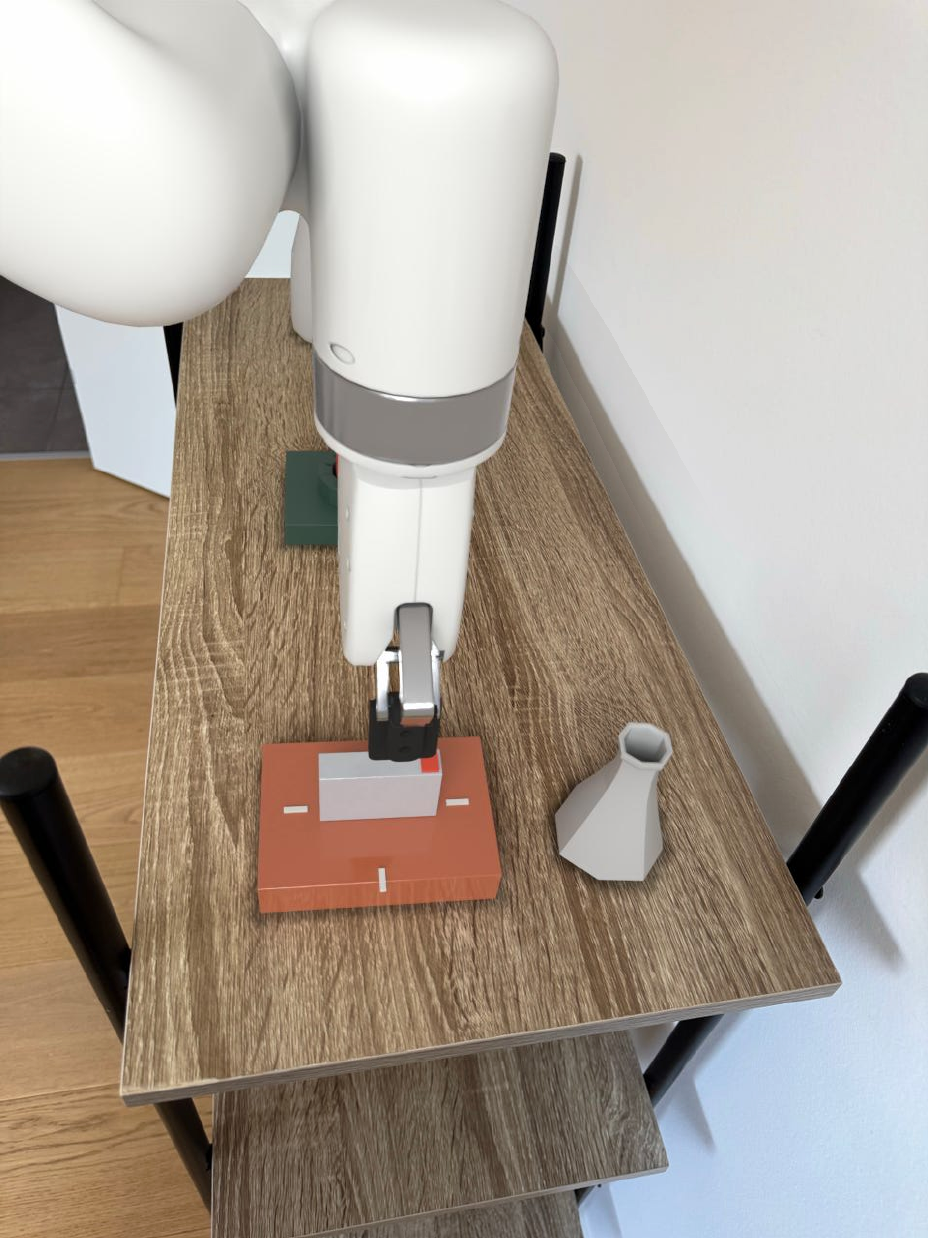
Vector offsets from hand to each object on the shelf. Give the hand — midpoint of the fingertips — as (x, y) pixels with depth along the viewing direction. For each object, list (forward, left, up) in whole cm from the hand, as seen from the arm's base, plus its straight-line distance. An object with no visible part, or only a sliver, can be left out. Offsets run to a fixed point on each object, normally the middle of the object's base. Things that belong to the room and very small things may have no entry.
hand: (394, 676), depth 47 cm
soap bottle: (-1, +62, -15) cm, 64 cm away
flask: (+15, -1, -15) cm, 21 cm away
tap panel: (0, 0, -15) cm, 15 cm away
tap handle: (0, 0, -12) cm, 12 cm away
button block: (0, +32, -15) cm, 35 cm away
